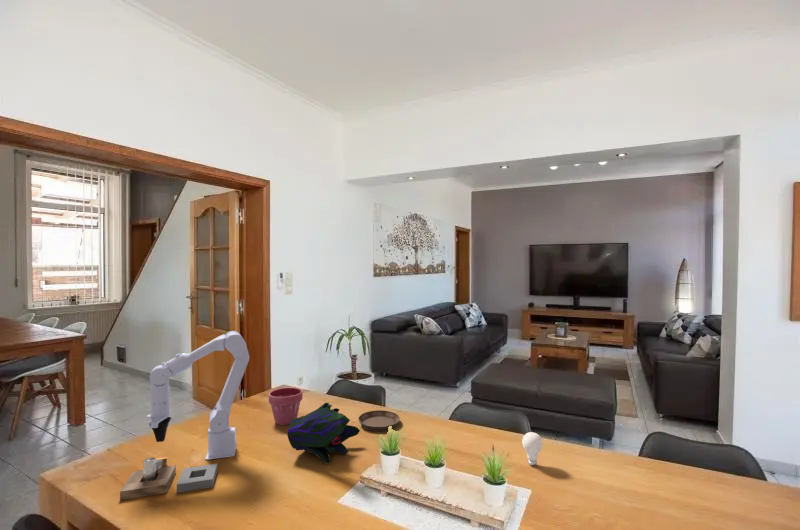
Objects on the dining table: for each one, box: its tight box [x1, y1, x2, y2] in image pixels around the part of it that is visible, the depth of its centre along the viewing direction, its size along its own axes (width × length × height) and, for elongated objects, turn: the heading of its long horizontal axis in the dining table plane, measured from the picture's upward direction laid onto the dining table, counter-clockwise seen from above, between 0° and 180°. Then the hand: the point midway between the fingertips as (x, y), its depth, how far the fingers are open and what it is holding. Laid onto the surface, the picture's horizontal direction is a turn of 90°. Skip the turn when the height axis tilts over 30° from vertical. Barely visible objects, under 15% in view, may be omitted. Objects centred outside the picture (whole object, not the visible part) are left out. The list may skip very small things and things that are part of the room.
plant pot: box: [268, 387, 303, 426], centre depth 176 cm, size 14×14×13 cm
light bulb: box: [521, 431, 544, 466], centre depth 136 cm, size 7×7×11 cm
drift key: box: [155, 456, 169, 478], centre depth 132 cm, size 4×10×3 cm, turn 17°
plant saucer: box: [357, 409, 401, 432], centre depth 172 cm, size 18×18×3 cm
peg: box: [143, 457, 157, 482], centre depth 125 cm, size 3×3×8 cm
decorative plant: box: [287, 402, 361, 465], centre depth 143 cm, size 21×26×30 cm
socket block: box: [119, 465, 177, 501], centre depth 125 cm, size 12×12×2 cm
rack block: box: [176, 463, 218, 493], centre depth 127 cm, size 10×10×2 cm
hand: (160, 441), depth 137 cm, fingers closed
